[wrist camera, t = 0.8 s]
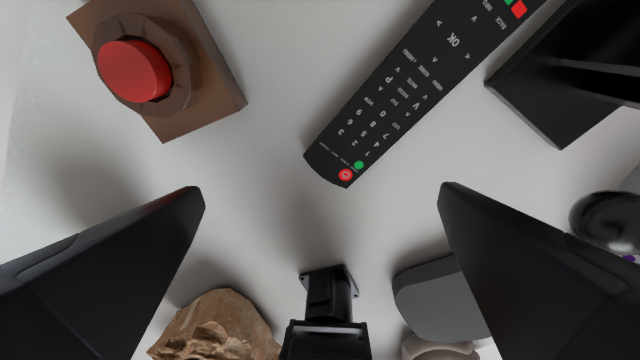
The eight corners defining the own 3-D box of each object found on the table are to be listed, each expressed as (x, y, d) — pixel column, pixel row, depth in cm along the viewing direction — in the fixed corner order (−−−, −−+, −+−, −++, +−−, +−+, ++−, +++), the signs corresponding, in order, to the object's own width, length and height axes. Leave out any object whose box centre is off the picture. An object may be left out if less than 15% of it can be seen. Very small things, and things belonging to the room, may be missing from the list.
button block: (248, 104, 21) (231, 117, 18) (176, 135, 23) (149, 152, 20) (173, -35, 17) (132, -52, 13) (92, 18, 19) (37, 15, 15)
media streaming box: (505, 234, 27) (522, 256, 24) (527, 305, 33) (543, 328, 30) (381, 274, 31) (385, 296, 29) (421, 330, 38) (427, 352, 35)
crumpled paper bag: (240, 280, 32) (177, 278, 40) (188, 375, 25) (124, 350, 32) (308, 337, 41) (246, 327, 49) (285, 419, 34) (217, 392, 41)
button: (182, 85, 17) (168, 90, 16) (144, 104, 18) (127, 110, 17) (147, 30, 16) (127, 29, 14) (107, 53, 17) (84, 55, 15)
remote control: (608, -71, 15) (632, -80, 14) (342, 184, 25) (342, 192, 24) (565, -155, 13) (587, -174, 12) (301, 154, 24) (299, 160, 22)
